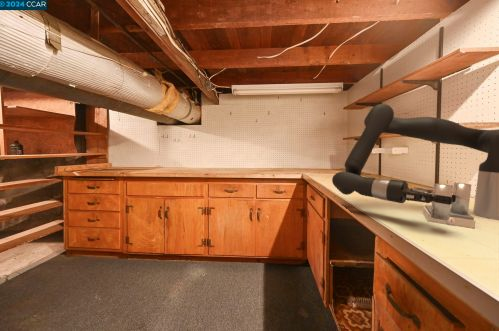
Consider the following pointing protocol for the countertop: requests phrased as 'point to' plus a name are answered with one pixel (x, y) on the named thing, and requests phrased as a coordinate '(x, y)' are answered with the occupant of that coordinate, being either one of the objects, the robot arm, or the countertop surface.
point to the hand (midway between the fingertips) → (453, 199)
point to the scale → (451, 218)
